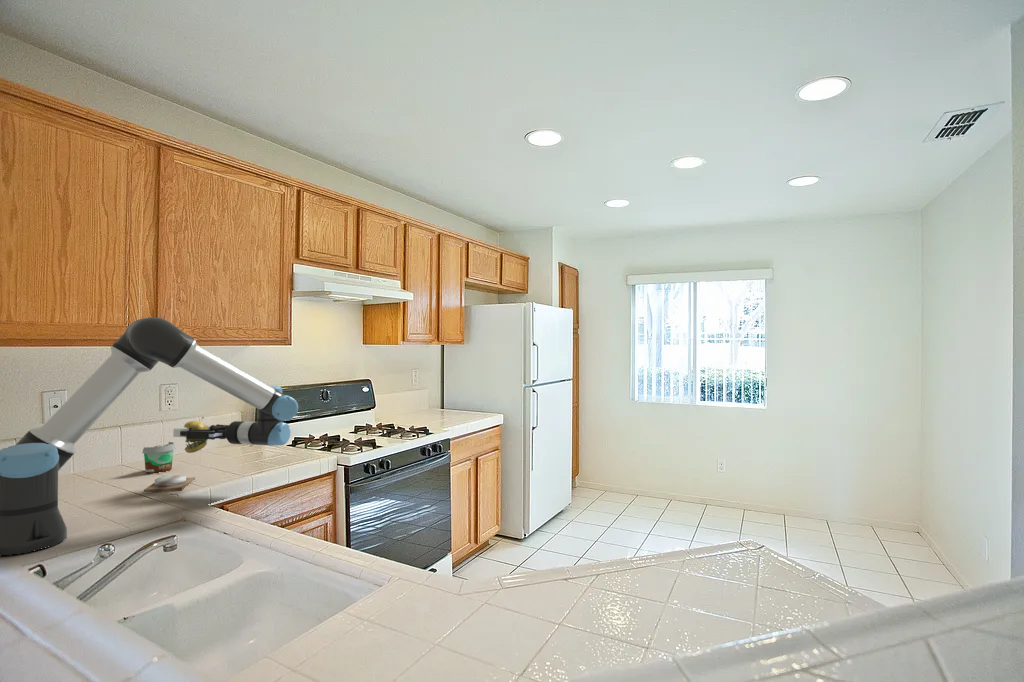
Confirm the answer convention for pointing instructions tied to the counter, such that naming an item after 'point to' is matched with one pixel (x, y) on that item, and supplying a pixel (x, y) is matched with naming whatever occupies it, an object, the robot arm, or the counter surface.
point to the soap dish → (169, 483)
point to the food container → (158, 458)
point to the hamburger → (200, 442)
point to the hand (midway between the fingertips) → (183, 430)
